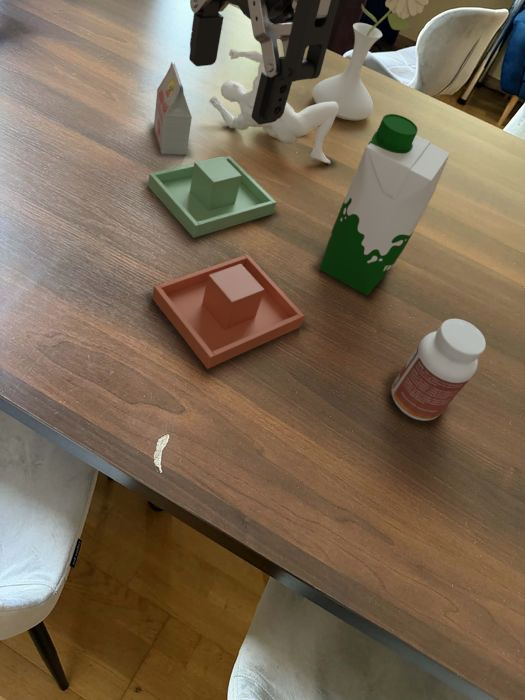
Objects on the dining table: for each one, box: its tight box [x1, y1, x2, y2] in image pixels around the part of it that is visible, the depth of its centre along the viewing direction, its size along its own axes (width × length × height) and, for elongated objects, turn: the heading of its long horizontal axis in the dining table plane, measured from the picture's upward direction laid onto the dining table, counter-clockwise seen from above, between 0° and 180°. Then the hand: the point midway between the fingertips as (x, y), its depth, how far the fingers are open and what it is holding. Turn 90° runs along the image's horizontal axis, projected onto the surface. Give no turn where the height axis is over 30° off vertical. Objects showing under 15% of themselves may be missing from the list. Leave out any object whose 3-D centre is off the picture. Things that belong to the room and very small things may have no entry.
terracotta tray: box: [152, 253, 306, 370], centre depth 65 cm, size 13×11×2 cm
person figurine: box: [208, 48, 339, 165], centre depth 87 cm, size 13×13×18 cm
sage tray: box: [147, 155, 277, 239], centre depth 78 cm, size 13×11×2 cm
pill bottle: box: [391, 318, 487, 422], centre depth 60 cm, size 6×6×11 cm
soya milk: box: [319, 113, 451, 297], centre depth 69 cm, size 9×9×20 cm
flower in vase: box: [311, 0, 430, 122], centre depth 94 cm, size 13×11×25 cm
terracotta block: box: [202, 264, 264, 330], centre depth 64 cm, size 4×4×4 cm
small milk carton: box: [153, 61, 193, 156], centre depth 81 cm, size 4×7×10 cm, turn 16°
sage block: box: [190, 155, 242, 211], centre depth 76 cm, size 4×4×4 cm
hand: (232, 91), depth 45 cm, fingers open, 8 cm apart
